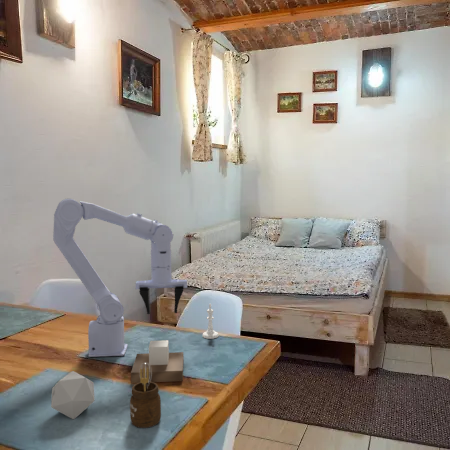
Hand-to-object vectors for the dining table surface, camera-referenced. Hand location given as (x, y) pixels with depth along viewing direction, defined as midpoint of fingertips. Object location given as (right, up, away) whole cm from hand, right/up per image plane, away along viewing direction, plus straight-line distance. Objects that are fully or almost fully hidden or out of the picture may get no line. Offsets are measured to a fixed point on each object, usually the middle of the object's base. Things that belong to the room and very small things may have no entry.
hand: (162, 312), depth 132 cm
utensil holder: (+2, -14, -42) cm, 44 cm away
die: (-13, -13, -38) cm, 42 cm away
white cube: (+2, -9, -18) cm, 20 cm away
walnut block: (+2, -12, -18) cm, 21 cm away
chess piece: (+14, -9, +8) cm, 18 cm away
